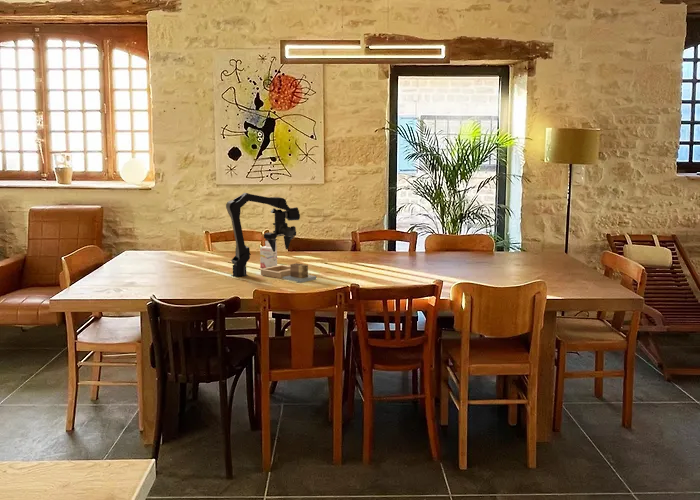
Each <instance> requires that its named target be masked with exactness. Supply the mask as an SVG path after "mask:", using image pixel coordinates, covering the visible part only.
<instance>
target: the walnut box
mask: <svg viewBox="0 0 700 500" xmlns="http://www.w3.org/2000/svg"><path fill="white" fill-rule="evenodd" d="M289 266H290V274H291V276H293V277H298V278H305V277H308V275H309V265H308V264H303V263H297V262H296V263H292V264H290V265H289Z"/></svg>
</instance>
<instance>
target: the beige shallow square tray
mask: <svg viewBox="0 0 700 500" xmlns="http://www.w3.org/2000/svg"><path fill="white" fill-rule="evenodd" d="M259 270H260V276H261V275H262V276H266V277H272V278H277V279H283V277H284V276H289V275H291V274H290V265H285V264H279V265H278V264H277V266H273V267H267V268H259Z"/></svg>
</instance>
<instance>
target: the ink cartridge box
mask: <svg viewBox="0 0 700 500" xmlns="http://www.w3.org/2000/svg"><path fill="white" fill-rule="evenodd" d="M264 243H265V245H264V246H260V247H259V258H260V259H259V262H260V263H259V265H260V266H259V267H260V268H259V269H262V268H267V267H273V266H278V245H277V241H276V242H275V252H273V250H272V248H271V246H270V244H269V242H268V241H267V240H265V241H264Z"/></svg>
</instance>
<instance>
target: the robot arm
mask: <svg viewBox="0 0 700 500" xmlns="http://www.w3.org/2000/svg"><path fill="white" fill-rule="evenodd" d="M248 202H252V203H253V202H254V203H258V204H265V205H269V206H271V207H273V208H272V209H271V211H270V213H271V214H274V222H273V223H272V224H273V225H272V226H274V230H273V231H272V232H270V231H269V232H264V234H263V239H265V241H268V242H269V244H270V246H271V248H272V250H273V252H275V242H276V243H277V241H278V238H277V237H282V236H283V241H284V246H285V250H288V249H289V247H290V244H291V242H292V240H293V239H294V238H295V237H296V236H297V231H296V230H297V229H296V226H295V225H291V226H288V223H287V222H286V220H287V221H289V222H290V221H299V220H300V219H301V213H300V210H299V207H296V206H294V207H289V205H288V204H287V200H286V199H285V198H284V197H280V196H269V197H268V196H264V195H263V196H262V195H258V194H251V193H249V192H243V193H242V194H241V195H239V196H237V197H236V198H234V199H233V200H227V203H226V204H225V209H226V210H227V214H228V215H229V217H230V219H231V224H232V230H233V231H232V232H233V234H234V235H233V236H234V241H235V250H234V251H235V253H234V254H235V255H234V256H233V258H232V259H231V261H230V262H231V263H232V274H231V275H230V276H231V277H235V278H241V277H243V278H244V277H247V276H248V274H247V263H248V261H249V260H250V258H251V251H250V247H249V246H247V245H246V244H245V239H244V234H243V228H242V222H241V214H242V213H241V208H242V207H244V206H245V205H246V204H247V203H248ZM276 208H277V209H276Z"/></svg>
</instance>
